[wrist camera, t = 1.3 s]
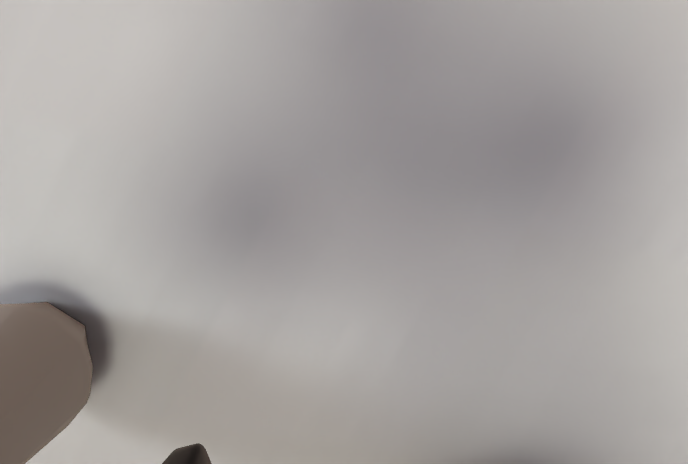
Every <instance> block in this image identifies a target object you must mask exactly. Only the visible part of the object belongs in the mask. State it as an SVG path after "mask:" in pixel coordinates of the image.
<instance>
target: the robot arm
mask: <svg viewBox="0 0 688 464" xmlns="http://www.w3.org/2000/svg"><path fill="white" fill-rule="evenodd" d="M162 464H211V461H210V459H209V456H208V454H207V451H206V449H205V448H204V446H203V445H201V444H199V443H198V444H193V445H189V446H185V447H181V448H178V449H176V450H174V451H173V452H172V453H171V454H170V455H169V456H168V458H167V459H166V460H165V461H164V462H163V463H162Z"/></svg>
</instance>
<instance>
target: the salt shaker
mask: <svg viewBox="0 0 688 464" xmlns="http://www.w3.org/2000/svg"><path fill="white" fill-rule="evenodd" d="M92 372H93V365H92V361H91V357H90V353H89V349H88V345H87V338H86V330H85V326H84V325H83V324H81V323H80V322H78V321H76V320H75V319H73V318H72V317H70V316H68V315H67V314H65V313H64V312H62V311H60V310H59V309H57V308H56V307H54V306H52V305H51V304H49V303H48V302H40V303H25V304H0V464H25V463H26V462H27V461H28V460H30V459H31V458H32V457H33V456H34V455H35V454H36V453H38V452H39V451H40V450H41V449H42V448H43V447H44V446H45V445H47V444H48V443H49V442H50V441H51V440H52V439H53V438H55V437H56V436H57V435H58V434H59V433H60V432H61V431H63V430H64V429H65V428H66V427H67V426H68V425H69V424H70V423H71V421H72V420H73V419H74V418H75V417H76V415H77V414H78V413H79V412H80V410H81V409H82V408H83V407H84V405H85V404H86V403H87V401H88V398H89V396H90V390H91V381H92Z"/></svg>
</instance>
